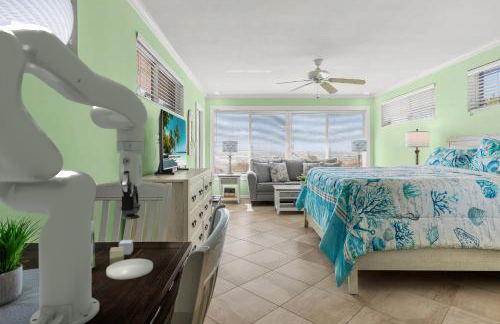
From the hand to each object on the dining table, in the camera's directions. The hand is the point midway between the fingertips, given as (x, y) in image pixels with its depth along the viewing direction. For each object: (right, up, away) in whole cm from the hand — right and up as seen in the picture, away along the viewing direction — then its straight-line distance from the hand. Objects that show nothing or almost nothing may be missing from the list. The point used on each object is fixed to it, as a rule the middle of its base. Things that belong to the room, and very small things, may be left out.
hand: (130, 207), depth 87 cm
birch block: (-8, -19, +8) cm, 22 cm away
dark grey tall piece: (0, -3, 0) cm, 3 cm away
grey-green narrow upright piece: (-15, -19, +1) cm, 25 cm away
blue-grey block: (-8, -19, +16) cm, 26 cm away
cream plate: (0, -19, 0) cm, 19 cm away
